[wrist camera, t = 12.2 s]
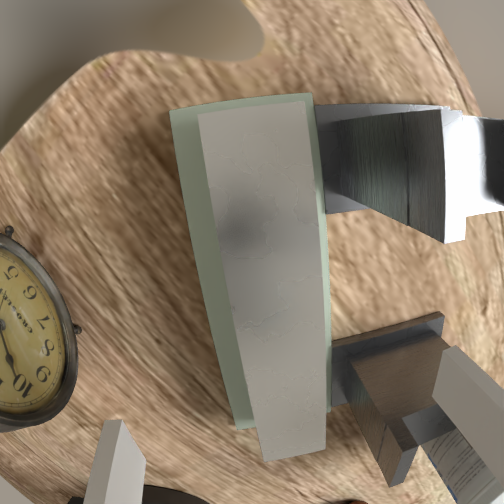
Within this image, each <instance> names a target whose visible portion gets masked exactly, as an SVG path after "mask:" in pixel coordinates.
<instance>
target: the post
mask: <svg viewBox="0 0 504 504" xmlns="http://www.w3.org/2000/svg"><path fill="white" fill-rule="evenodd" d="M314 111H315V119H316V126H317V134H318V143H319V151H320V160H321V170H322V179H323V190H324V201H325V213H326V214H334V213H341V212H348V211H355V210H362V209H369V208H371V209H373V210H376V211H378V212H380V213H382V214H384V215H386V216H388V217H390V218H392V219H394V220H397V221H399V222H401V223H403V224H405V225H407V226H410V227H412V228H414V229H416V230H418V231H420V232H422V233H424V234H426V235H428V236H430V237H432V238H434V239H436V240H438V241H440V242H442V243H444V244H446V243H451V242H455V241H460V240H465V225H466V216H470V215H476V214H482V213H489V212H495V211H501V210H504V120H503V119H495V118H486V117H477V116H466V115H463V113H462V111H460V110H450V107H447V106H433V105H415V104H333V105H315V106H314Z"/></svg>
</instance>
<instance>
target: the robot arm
mask: <svg viewBox="0 0 504 504" xmlns="http://www.w3.org/2000/svg"><path fill="white" fill-rule="evenodd" d="M432 397H433V398H434V400H435V401H436V402H437V403H438V405H439V406H440V407H441V408H442V410H443V411H444V412H445V413H446V414H447V416H448V417H449V418H450V419H451V421H452V422H453V423H454V424H455V426H456V427H457V428H458V429H459V431H460V432H461V433H462V435H463V436H464V437H465V438H466V440H467V441H468V442H469V443H470V445H471V446H472V447H473V449H474V450H475V451H476V452H477V454H478V455H479V456H480V458H481V459H482V460H483V462H484V463H485V464H486V466H487V467H488V468H489V469H490V471H491V472H492V473H493V475H494V476H495V477H496V479H497V480H498V481H499V483H500V484H501V486H502V487H503V488H504V390H503V389H502V388H501V387H500V386H499V385H498V384H497V383H496V382H495V381H494V380H493V379H492V378H491V377H490V376H489V375H488V374H487V373H486V372H484V371H483V370H482V369H481V368H480V367H479V366H478V365H477V364H476V363H475V362H474V361H473V360H472V359H470V358H469V357H468V356H467V355H466V354H465V353H464V352H463V351H462V350H461V349H459V348H458V347H457V346H456V345H455V346H453V347H451V348H448V349H446V350H443V352H442V357H441V362H440V366H439V370H438V374H437V379H436V383H435V386H434V390H433V394H432ZM145 467H146V459H145V457H144V456H143V454H142V453H141V451H140V449H139V448H138V446H137V444H136V443H135V441H134V439H133V438H132V436H131V434H130V433H129V431H128V429H127V427H126V426H125V424H124V422H123V420H105V422H104V425H103V428H102V432H101V435H100V439H99V443H98V446H97V450H96V453H95V457H94V461H93V465H92V469H91V473H90V477H89V481H88V485H87V489H86V493H85V498H81V497H72V498H71V499H70V501H69V502H68V503H67V504H209V503H207V502H206V501H204V500H202V499H200V498H197V497H195V496H192V495H189V494H186V493H182V492H178V491H174V490H170V489H165V488H159V487H152V486H143V484H144V476H145Z"/></svg>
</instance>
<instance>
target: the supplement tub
mask: <svg viewBox="0 0 504 504" xmlns="http://www.w3.org/2000/svg"><path fill="white" fill-rule="evenodd" d="M421 447H422V448H423V450H424V451H425V453H426V455H427V456H428V458H429V459H430V461H431V462H432V464H433V466H434V467H435V469H436V470H437V472H438V474H439V475H440V477H441V479H442V480H443V482H444V483H445V485H446V487H447V488H448V490H449V492H450V493H451V495H452V497H453V498H454V500H455V501H456V503H457V504H504V488H503V487H502V486H501V484H500V483H499V481H498V480H497V479H496V477H495V476H494V475H493V473H492V472H491V471H490V469H489V468H488V467H487V466H486V464H485V463H484V462H483V460H482V459H481V458H480V456H479V455H478V454H477V452H476V451H475V450H474V449H471V447H470V446H469V445H468V443H467V442H466V440H465V439H464V438H463V436H462V435H461V433H460V432H459V431H458V429H457V428H456V429H454V430H452V431H450V432H448V433H446V434H444V435H442V436H439V437H437V438H435V439H433V440H431V441H428V442H426V443H424V444H422V445H421Z"/></svg>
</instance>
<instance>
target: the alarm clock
mask: <svg viewBox="0 0 504 504" xmlns="http://www.w3.org/2000/svg"><path fill="white" fill-rule="evenodd" d="M13 232H14V229H13V227H12V226H8V227H6V229H5V233H6V235H4V234H2V233H0V433H3V432H10V431H15V430H19V429H22V428H26V427H30V426H36V425H39V424H42V423H44V422H47V421H49V420H51V419H52V418H54V417H55V416H56V415H57V414H58V413H59V412H60V411H61V410H62V409H63V408H64V407H65V406H66V404H67V403H68V401H69V399H70V397H71V395H72V393H73V390H74V387H75V384H76V380H77V374H78V347H77V340H76V335H75V334H80V333H81V331H82V329H81V327H80V326H73V323H72V320H71V317H70V314H69V311H68V309H67V306H66V304H65V301H64V299H63V297H62V295H61V293H60V291H59V290H58V288H57V286H56V285H55V283H54V281H53V280H52V278H51V277H50V275H49V274H48V273H47V271H46V270H45V269H44V267H43V266H42V265H41V264H40V263H39V261H38V260H37V259H36V258H35V257H34V256H33V255H32V254H31V253H30V252H29V251H27V250H26V249H25V248H24V247H23V246H22V245H20V244H19V243H17V242H16V241H15V240H13V239H11V236H12V233H13Z"/></svg>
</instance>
